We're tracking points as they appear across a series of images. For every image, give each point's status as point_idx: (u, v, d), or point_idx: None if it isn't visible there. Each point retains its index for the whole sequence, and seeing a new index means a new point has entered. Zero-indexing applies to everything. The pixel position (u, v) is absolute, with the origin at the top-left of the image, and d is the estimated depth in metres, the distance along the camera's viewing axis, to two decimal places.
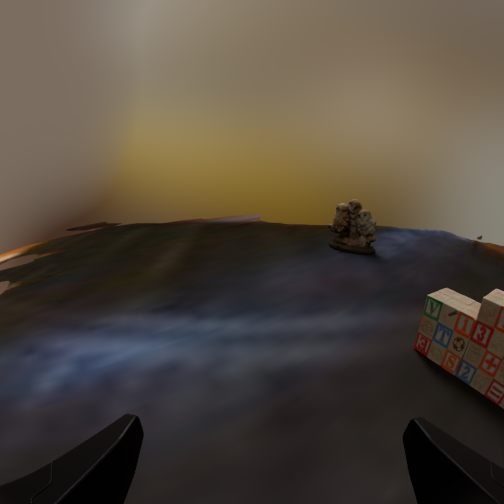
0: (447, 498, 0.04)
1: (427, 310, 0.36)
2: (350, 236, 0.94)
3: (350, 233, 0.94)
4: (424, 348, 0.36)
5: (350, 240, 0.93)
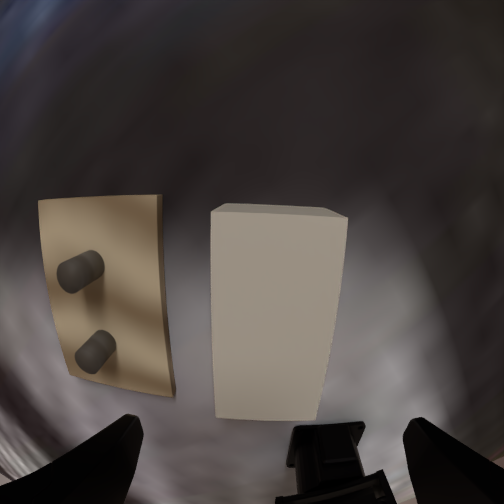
0: (447, 498, 0.04)
1: None
2: None
3: None
4: None
5: None
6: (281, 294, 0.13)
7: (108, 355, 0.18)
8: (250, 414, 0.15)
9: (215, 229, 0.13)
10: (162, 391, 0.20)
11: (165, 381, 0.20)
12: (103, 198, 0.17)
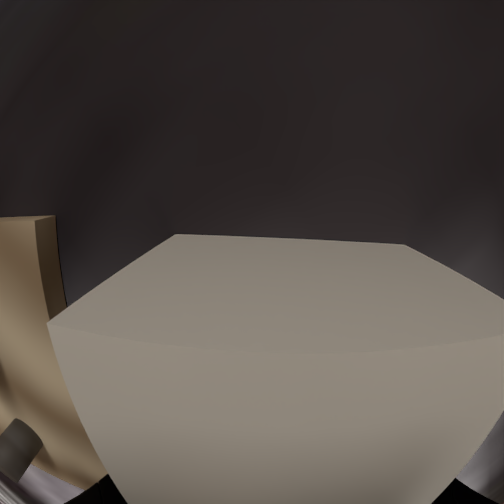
0: None
1: None
2: None
3: None
4: None
5: None
6: None
7: (30, 459, 0.08)
8: None
9: (78, 387, 0.03)
10: None
11: None
12: None
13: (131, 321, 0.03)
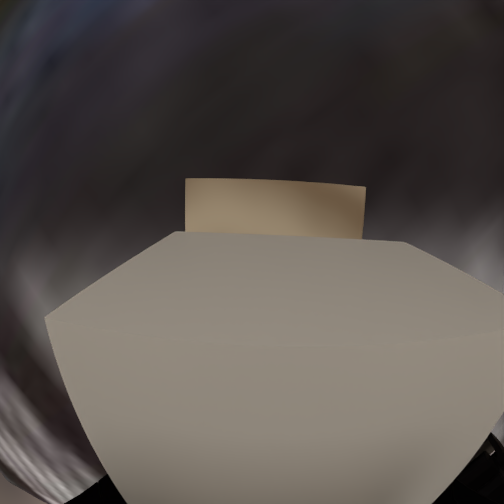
0: None
1: None
2: None
3: None
4: None
5: None
6: None
7: None
8: None
9: (76, 382, 0.02)
10: None
11: None
12: (299, 183, 0.15)
13: (130, 315, 0.03)
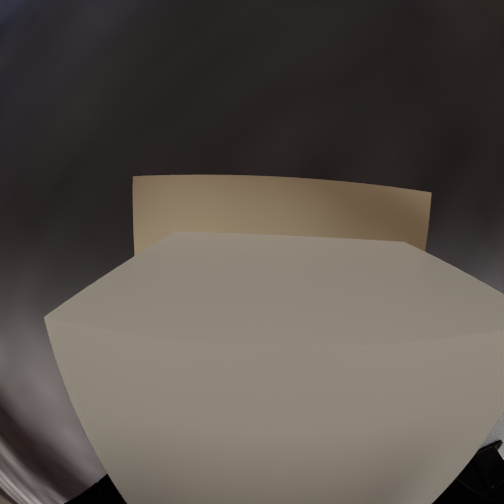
0: None
1: None
2: None
3: None
4: None
5: None
6: None
7: None
8: None
9: (75, 382, 0.02)
10: None
11: None
12: (328, 183, 0.09)
13: (129, 315, 0.03)
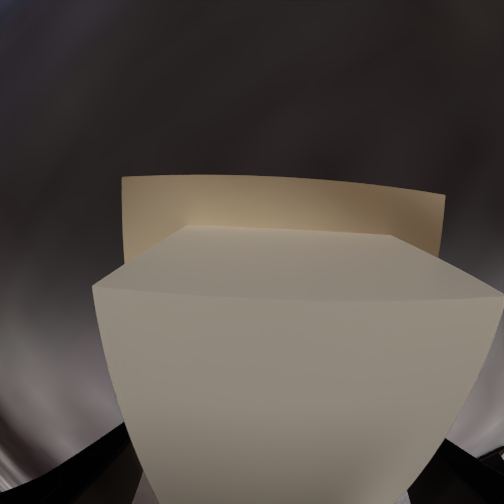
0: (440, 501, 0.04)
1: None
2: None
3: None
4: None
5: None
6: (310, 476, 0.04)
7: None
8: None
9: (113, 341, 0.03)
10: None
11: None
12: (336, 184, 0.08)
13: (163, 282, 0.04)
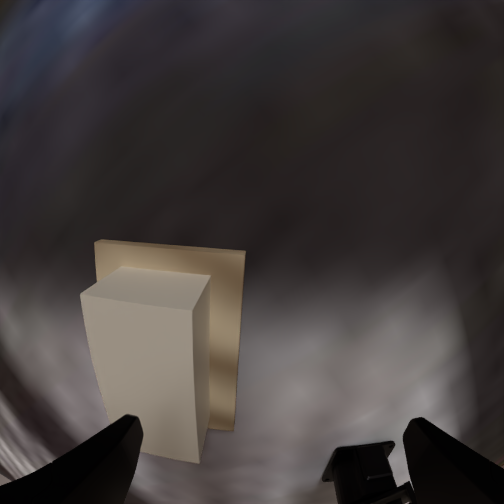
0: (447, 498, 0.04)
1: None
2: None
3: None
4: None
5: None
6: (142, 366, 0.13)
7: None
8: (143, 448, 0.15)
9: (85, 308, 0.13)
10: (224, 426, 0.20)
11: (229, 418, 0.20)
12: (181, 251, 0.17)
13: (97, 294, 0.13)
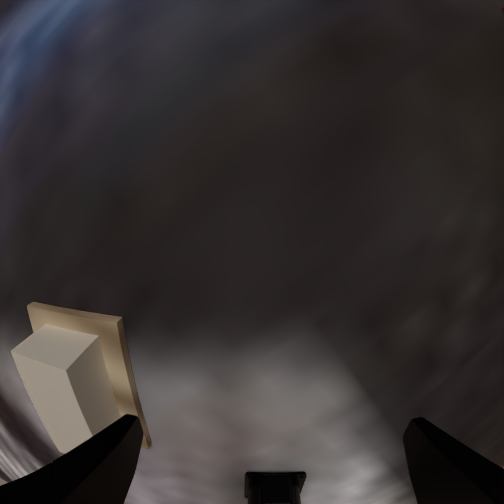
0: (447, 498, 0.04)
1: None
2: None
3: None
4: None
5: None
6: (52, 400, 0.16)
7: None
8: None
9: (15, 360, 0.15)
10: None
11: None
12: (77, 317, 0.19)
13: (20, 351, 0.15)
